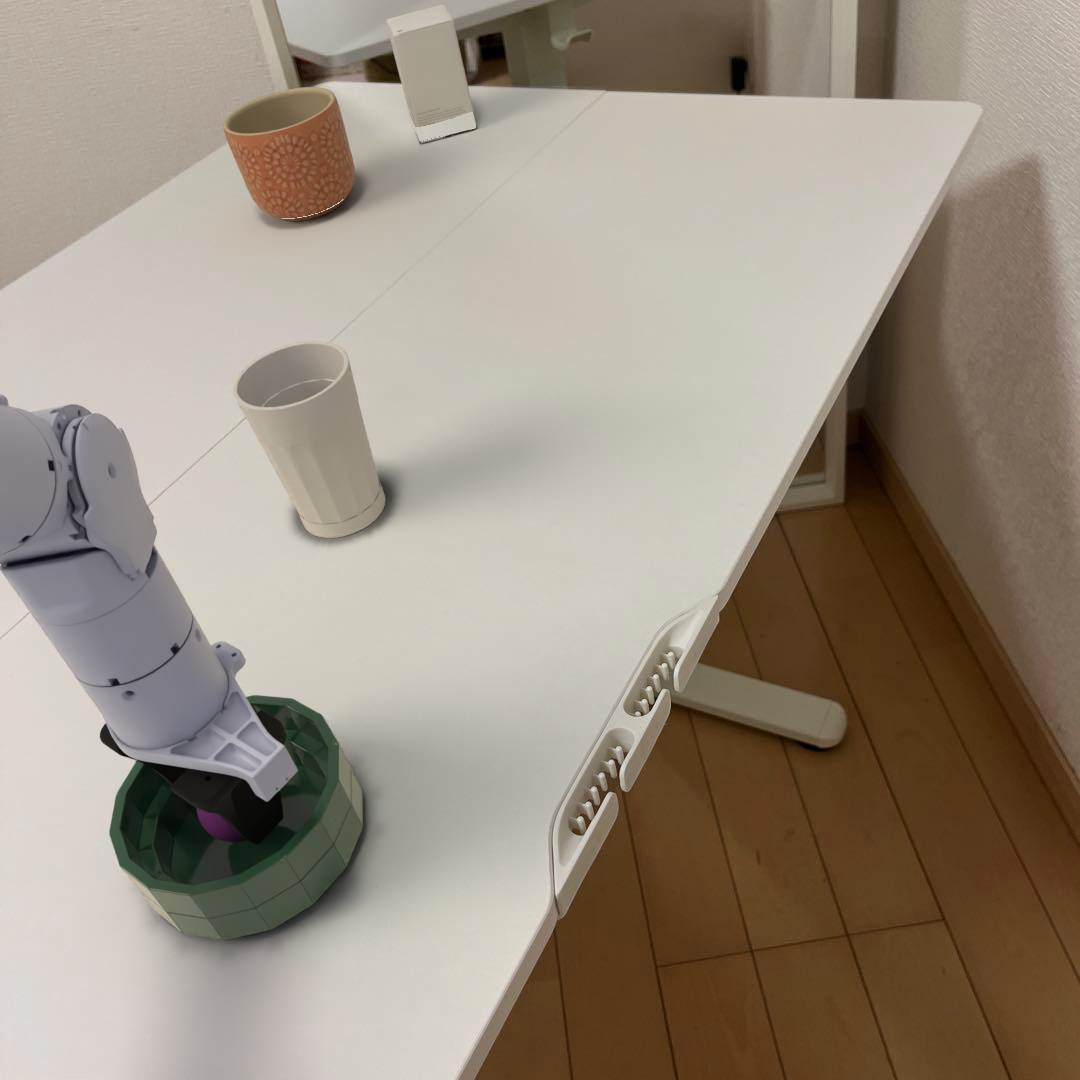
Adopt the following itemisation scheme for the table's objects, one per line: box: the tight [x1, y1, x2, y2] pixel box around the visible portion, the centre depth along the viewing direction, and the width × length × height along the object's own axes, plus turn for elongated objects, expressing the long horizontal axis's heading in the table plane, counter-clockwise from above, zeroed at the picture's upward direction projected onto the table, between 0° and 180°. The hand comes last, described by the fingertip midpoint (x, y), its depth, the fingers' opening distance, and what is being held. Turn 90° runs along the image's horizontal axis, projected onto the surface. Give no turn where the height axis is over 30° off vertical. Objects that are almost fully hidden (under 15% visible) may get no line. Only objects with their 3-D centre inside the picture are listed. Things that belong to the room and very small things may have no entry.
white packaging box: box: [385, 3, 474, 144], centre depth 130 cm, size 7×7×13 cm
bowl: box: [108, 694, 364, 941], centre depth 59 cm, size 12×12×5 cm
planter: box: [222, 86, 356, 222], centre depth 120 cm, size 12×12×11 cm
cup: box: [232, 340, 386, 539], centre depth 78 cm, size 8×8×12 cm
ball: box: [197, 808, 247, 842], centre depth 59 cm, size 4×4×4 cm
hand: (239, 810), depth 59 cm, fingers closed on ball, 4 cm apart
